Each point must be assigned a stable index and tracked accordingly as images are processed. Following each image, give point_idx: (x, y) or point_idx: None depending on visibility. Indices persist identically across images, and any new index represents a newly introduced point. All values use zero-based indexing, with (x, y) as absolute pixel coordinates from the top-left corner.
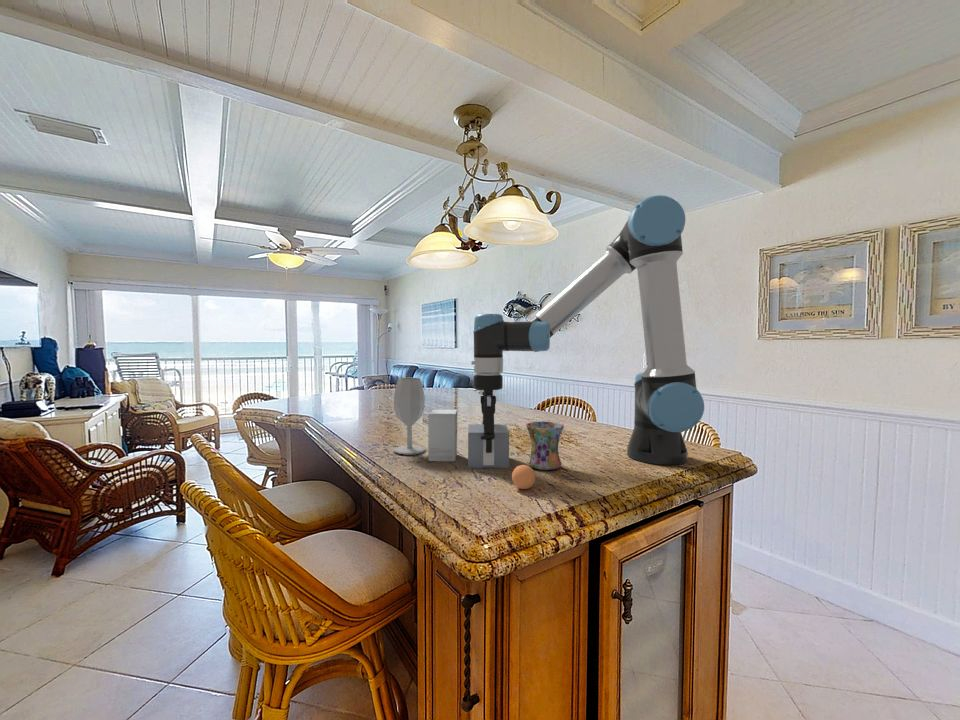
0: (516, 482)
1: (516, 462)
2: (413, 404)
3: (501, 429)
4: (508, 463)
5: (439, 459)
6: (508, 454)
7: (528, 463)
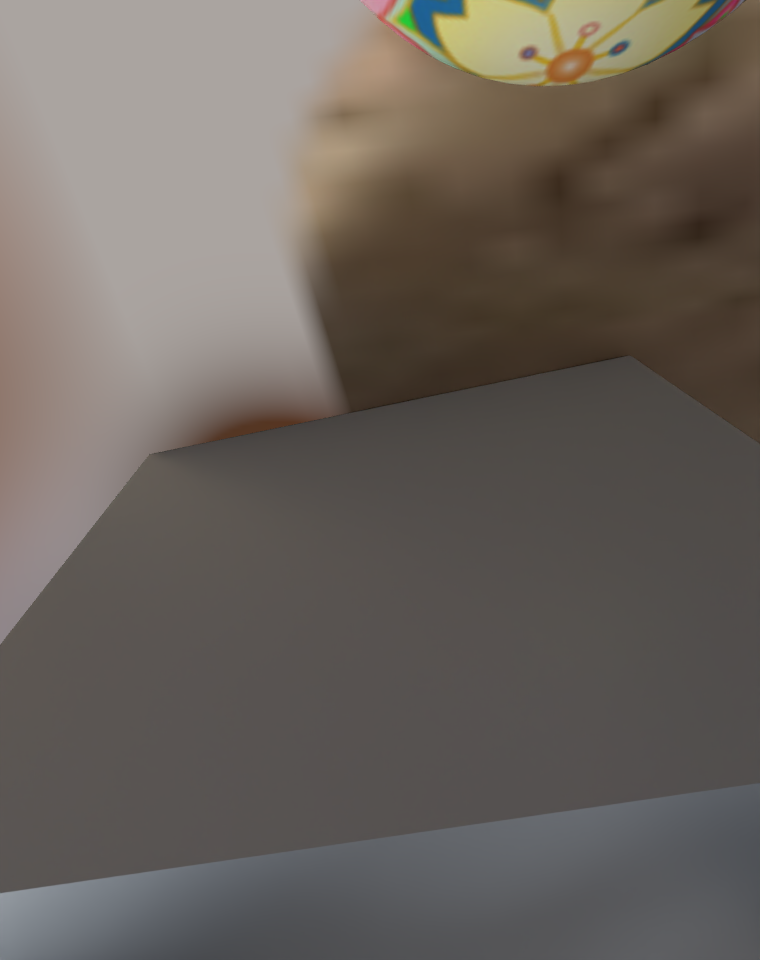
0: None
1: (384, 288)
2: None
3: (613, 926)
4: (652, 378)
5: None
6: (718, 425)
7: (660, 56)
